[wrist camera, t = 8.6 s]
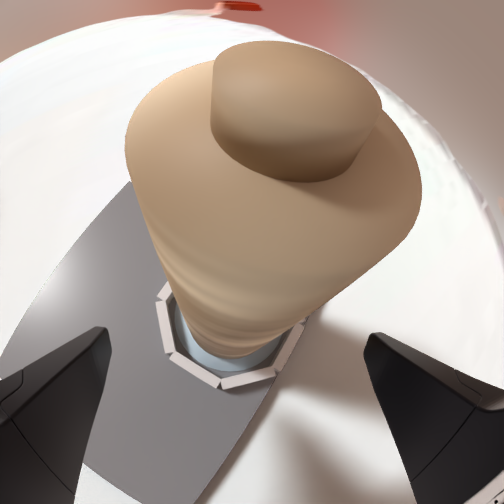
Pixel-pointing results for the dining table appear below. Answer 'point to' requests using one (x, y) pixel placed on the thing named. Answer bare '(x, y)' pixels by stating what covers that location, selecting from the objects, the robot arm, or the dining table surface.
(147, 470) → the baseplate
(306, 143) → the beige wooden pepper mill
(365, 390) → the dining table surface
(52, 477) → the robot arm
